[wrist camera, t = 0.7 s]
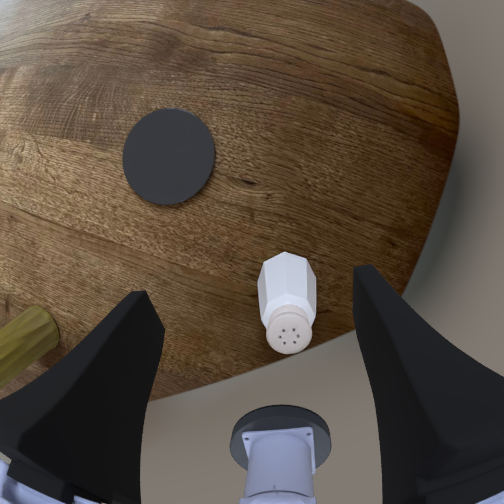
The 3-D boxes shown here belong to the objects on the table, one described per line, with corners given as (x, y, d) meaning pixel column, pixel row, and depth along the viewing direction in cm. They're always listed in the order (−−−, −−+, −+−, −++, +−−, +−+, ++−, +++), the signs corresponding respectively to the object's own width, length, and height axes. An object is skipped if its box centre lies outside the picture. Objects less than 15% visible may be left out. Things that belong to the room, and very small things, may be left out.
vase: (50, 304, 33) (-29, 357, 19) (66, 348, 34) (-2, 411, 20) (21, 305, 34) (-53, 351, 20) (35, 347, 35) (-30, 400, 21)
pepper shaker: (259, 308, 31) (249, 374, 20) (254, 253, 29) (239, 298, 19) (316, 304, 30) (333, 369, 19) (314, 248, 29) (333, 291, 18)
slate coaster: (222, 195, 28) (221, 195, 28) (132, 212, 29) (130, 212, 29) (207, 99, 26) (206, 97, 26) (119, 122, 28) (116, 122, 27)
